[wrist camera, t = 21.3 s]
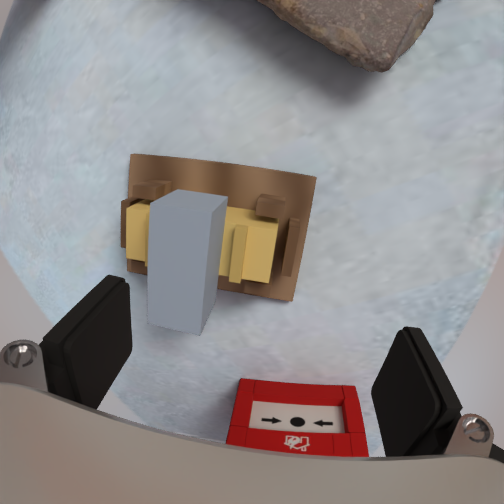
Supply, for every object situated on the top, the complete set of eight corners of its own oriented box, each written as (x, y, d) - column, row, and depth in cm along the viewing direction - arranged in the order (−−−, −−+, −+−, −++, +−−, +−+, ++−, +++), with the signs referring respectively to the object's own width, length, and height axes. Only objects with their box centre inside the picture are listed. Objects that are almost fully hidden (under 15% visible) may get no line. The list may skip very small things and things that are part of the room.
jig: (130, 267, 39) (110, 286, 34) (134, 153, 34) (110, 157, 29) (292, 297, 38) (292, 322, 32) (315, 176, 33) (320, 184, 27)
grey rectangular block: (170, 291, 31) (147, 323, 25) (177, 189, 28) (150, 203, 22) (215, 300, 31) (200, 335, 25) (228, 196, 27) (212, 212, 22)
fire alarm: (356, 383, 41) (372, 469, 27) (340, 430, 45) (346, 508, 31) (240, 375, 43) (220, 462, 28) (238, 423, 46) (222, 502, 32)
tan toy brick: (149, 239, 36) (121, 261, 29) (151, 196, 34) (121, 210, 28) (272, 259, 35) (268, 288, 29) (279, 214, 33) (277, 233, 27)
